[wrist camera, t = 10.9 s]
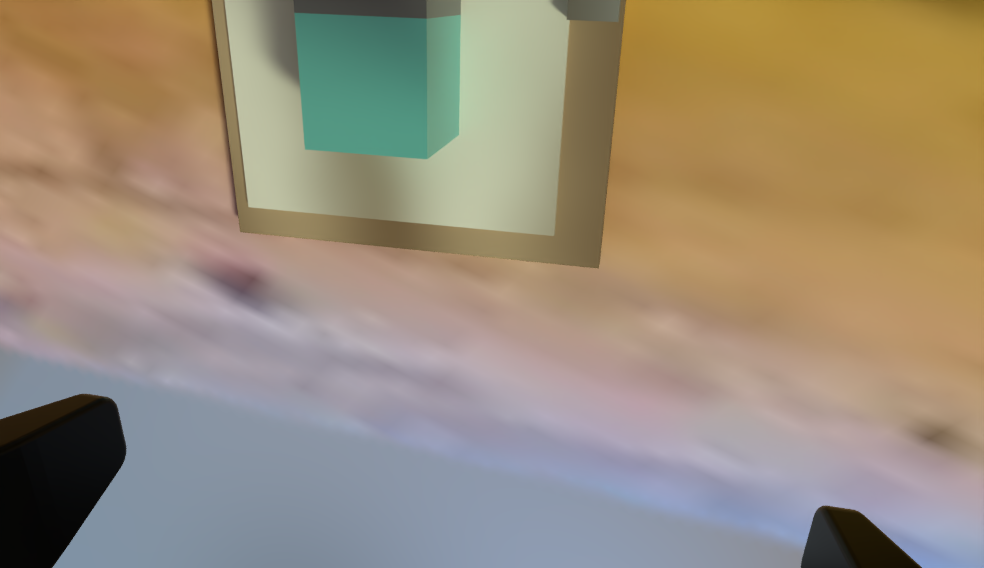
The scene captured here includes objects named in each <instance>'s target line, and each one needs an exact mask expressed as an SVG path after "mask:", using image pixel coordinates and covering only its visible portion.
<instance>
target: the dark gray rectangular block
mask: <svg viewBox="0 0 984 568" xmlns="http://www.w3.org/2000/svg"><path fill="white" fill-rule="evenodd" d="M293 1H294V14H295V27H296V40H297V53H298V66H299V79H300V93H301V106H302V119H303V132H304V145H305V150H317V151H330V152H342V153H354V154H367V155H379V156H392V157H404V158H416V159H428V158H430V157H431V156H432V155H434V154H435V153H436V152H438V151H439V150H440V149H441V148H443V147H444V146H445V145H447V144H448V143H449V142H451V141H452V140H453V139H454V138H456V137H457V136H458V135H459V105H460V32H461V0H293Z"/></svg>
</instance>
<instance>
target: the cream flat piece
mask: <svg viewBox="0 0 984 568" xmlns="http://www.w3.org/2000/svg"><path fill="white" fill-rule="evenodd" d="M625 4H626V0H461V32H460V105H459V135H458V136H457V137H456V138H454V139H453V140H452V141H451V142H449V143H448V144H447V145H445V146H444V147H443V148H441V149H440V150H439V151H438V152H436V153H435V154H434V155H432V156H431V157H430V158H428V159H416V158H404V157H392V156H379V155H367V154H354V153H342V152H330V151H317V150H305V145H304V132H303V119H302V106H301V93H300V79H299V66H298V53H297V40H296V27H295V14H294V1H293V0H212V7H213V15H214V23H215V31H216V39H217V47H218V55H219V64H220V72H221V80H222V88H223V96H224V104H225V112H226V120H227V128H228V137H229V145H230V153H231V161H232V169H233V177H234V185H235V193H236V202H237V210H238V218H239V226H240V232H245V233H255V234H265V235H275V236H285V237H294V238H304V239H314V240H324V241H334V242H344V243H354V244H363V245H373V246H383V247H393V248H403V249H413V250H423V251H432V252H442V253H452V254H462V255H472V256H482V257H492V258H501V259H511V260H521V261H531V262H541V263H551V264H560V265H570V266H580V267H590V268H599V263H600V254H601V244H602V234H603V224H604V214H605V204H606V194H607V184H608V174H609V164H610V154H611V144H612V134H613V124H614V114H615V104H616V94H617V84H618V74H619V64H620V54H621V44H622V34H623V24H624V14H625Z"/></svg>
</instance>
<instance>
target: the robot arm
mask: <svg viewBox="0 0 984 568" xmlns="http://www.w3.org/2000/svg"><path fill="white" fill-rule="evenodd" d="M125 456H126V443H125V439H124V434H123V430H122V425H121V420H120V416H119V412H118V408H117V405H116V403H115V402H114V401H113V400H112V399H110V398H108V397H103V396H98V395H91V394H79V395H75V396H72V397H69V398H66V399H63V400H60V401H56V402H53V403H50V404H47V405H44V406H41V407H38V408H35V409H31V410H28V411H25V412H22V413H19V414H16V415H12V416H9V417H6V418H3V419H0V568H52V567H53V566H54V565H55V563H56V562H57V560H58V559H59V557H60V556H61V555H62V553H63V552H64V550H65V549H66V548H67V546H68V545H69V543H70V542H71V540H72V539H73V537H74V536H75V534H76V533H77V531H78V530H79V529H80V527H81V526H82V524H83V523H84V521H85V520H86V518H87V517H88V515H89V514H90V512H91V511H92V509H93V508H94V506H95V505H96V503H97V502H98V500H99V499H100V497H101V496H102V495H103V493H104V492H105V490H106V488H107V487H108V486H109V484H110V483H111V481H112V480H113V478H114V477H115V475H116V474H117V472H118V471H119V469H120V468H121V466H122V464H123V462H124V460H125ZM801 568H922V567H921V566H920V565H919V564H917V563H916V562H915V561H914V560H913V559H912V558H911V557H910V556H909V555H907V554H906V553H905V552H904V551H903V550H902V549H901V548H900V547H899V546H897V545H896V544H895V543H894V542H893V541H892V540H891V539H890V538H889V537H887V536H886V535H885V534H884V533H883V532H882V531H881V530H880V529H879V528H877V527H876V526H875V525H874V524H873V523H872V522H871V521H870V520H869V519H867V518H866V517H865V516H864V515H863V514H861V513H860V512H858V511H856V510H852V509H845V508H838V507H832V506H822V507H820V508H818V509H817V511H816V513H815V515H814V518H813V521H812V525H811V528H810V532H809V536H808V539H807V543H806V546H805V550H804V554H803V557H802V563H801Z"/></svg>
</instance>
